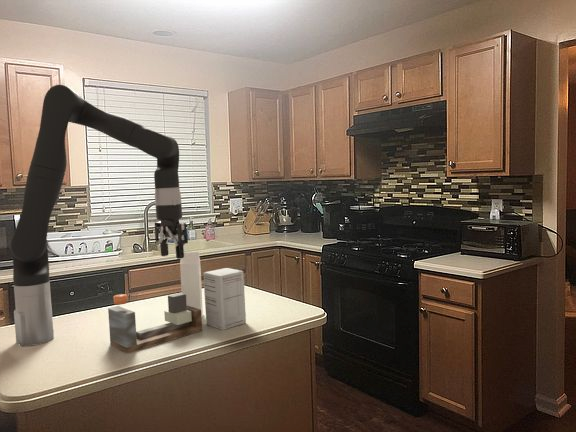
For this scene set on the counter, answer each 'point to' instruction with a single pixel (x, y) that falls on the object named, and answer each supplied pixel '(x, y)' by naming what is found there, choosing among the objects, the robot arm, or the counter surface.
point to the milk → (191, 280)
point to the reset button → (120, 299)
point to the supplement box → (224, 298)
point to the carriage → (177, 309)
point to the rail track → (167, 334)
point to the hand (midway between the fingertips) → (172, 257)
